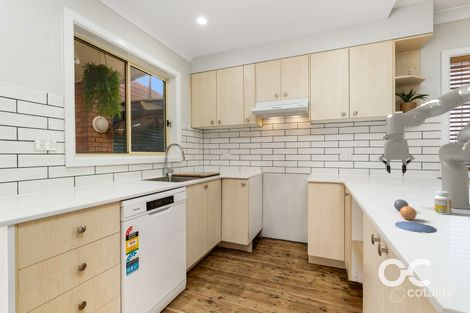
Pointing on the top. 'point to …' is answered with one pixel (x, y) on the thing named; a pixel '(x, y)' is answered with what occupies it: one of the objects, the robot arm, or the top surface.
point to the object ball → (408, 212)
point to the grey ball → (400, 204)
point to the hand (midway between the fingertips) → (396, 172)
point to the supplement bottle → (443, 203)
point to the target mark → (415, 227)
